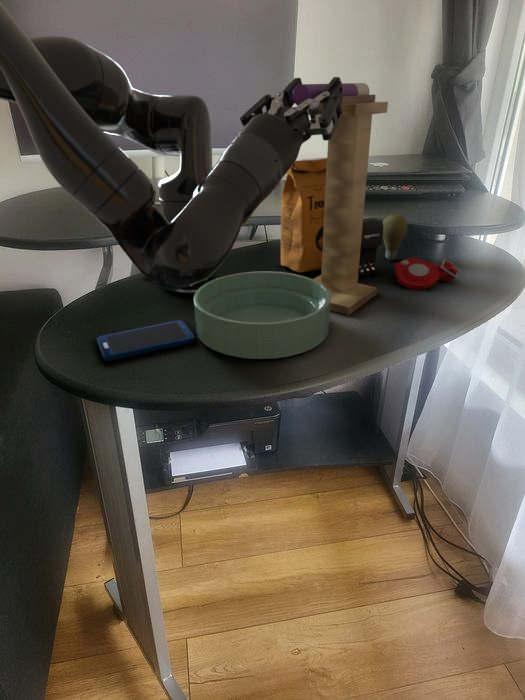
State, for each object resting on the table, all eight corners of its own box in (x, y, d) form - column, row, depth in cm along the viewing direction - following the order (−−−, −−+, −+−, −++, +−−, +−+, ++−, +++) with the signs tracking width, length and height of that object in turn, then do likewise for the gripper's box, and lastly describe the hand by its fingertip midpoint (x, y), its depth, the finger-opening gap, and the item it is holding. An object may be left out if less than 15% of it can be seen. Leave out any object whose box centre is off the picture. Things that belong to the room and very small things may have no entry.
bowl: (168, 336, 76) (164, 301, 73) (250, 294, 91) (249, 263, 88) (279, 377, 65) (279, 338, 62) (352, 321, 79) (355, 287, 77)
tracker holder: (416, 288, 89) (383, 261, 95) (413, 306, 92) (381, 278, 98) (467, 264, 92) (431, 239, 98) (463, 282, 95) (428, 257, 101)
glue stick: (305, 109, 63) (311, 88, 62) (290, 102, 64) (295, 81, 62) (366, 104, 76) (372, 86, 74) (352, 98, 77) (358, 80, 75)
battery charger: (353, 280, 96) (358, 223, 91) (342, 274, 99) (346, 218, 94) (381, 274, 99) (387, 218, 93) (370, 269, 102) (375, 214, 96)
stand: (289, 299, 88) (293, 96, 72) (320, 281, 96) (329, 94, 80) (348, 315, 82) (366, 96, 66) (376, 295, 89) (398, 94, 73)
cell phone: (96, 340, 74) (95, 336, 74) (182, 323, 79) (182, 319, 79) (104, 362, 69) (103, 357, 68) (197, 341, 74) (196, 337, 73)
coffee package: (348, 269, 102) (357, 159, 91) (297, 279, 97) (300, 163, 86) (323, 256, 110) (329, 153, 99) (275, 264, 105) (275, 157, 94)
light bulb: (384, 254, 110) (389, 210, 105) (407, 259, 107) (413, 213, 102) (373, 260, 107) (377, 215, 102) (396, 265, 103) (402, 219, 99)
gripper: (297, 137, 53) (362, 53, 59) (201, 132, 61) (268, 57, 67) (312, 192, 59) (370, 110, 65) (223, 181, 67) (283, 108, 73)
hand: (318, 84), depth 66 cm, fingers open, 5 cm apart
